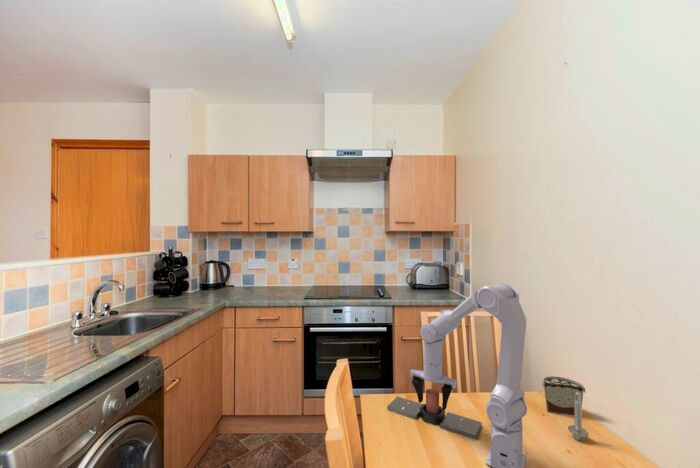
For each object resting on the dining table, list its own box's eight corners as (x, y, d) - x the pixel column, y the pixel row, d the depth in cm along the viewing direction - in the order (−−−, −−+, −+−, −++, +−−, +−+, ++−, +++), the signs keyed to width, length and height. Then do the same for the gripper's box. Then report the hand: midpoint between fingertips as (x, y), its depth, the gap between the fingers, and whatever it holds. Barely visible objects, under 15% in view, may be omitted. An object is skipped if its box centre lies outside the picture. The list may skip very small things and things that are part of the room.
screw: (569, 440, 88) (566, 431, 92) (590, 445, 85) (586, 436, 90) (569, 393, 88) (566, 386, 92) (590, 397, 86) (586, 390, 90)
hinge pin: (436, 422, 95) (436, 396, 95) (424, 418, 97) (424, 392, 98) (440, 416, 98) (440, 391, 99) (428, 412, 101) (428, 387, 101)
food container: (577, 408, 105) (577, 378, 106) (586, 417, 100) (585, 386, 100) (536, 402, 109) (536, 373, 109) (542, 411, 103) (542, 381, 103)
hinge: (475, 439, 87) (475, 430, 87) (387, 409, 102) (387, 401, 102) (481, 426, 94) (481, 417, 94) (397, 399, 109) (397, 392, 109)
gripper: (459, 362, 98) (459, 406, 97) (415, 353, 106) (415, 393, 105) (453, 369, 92) (453, 416, 91) (407, 359, 100) (407, 402, 99)
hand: (432, 404), depth 98 cm, fingers open, 7 cm apart
